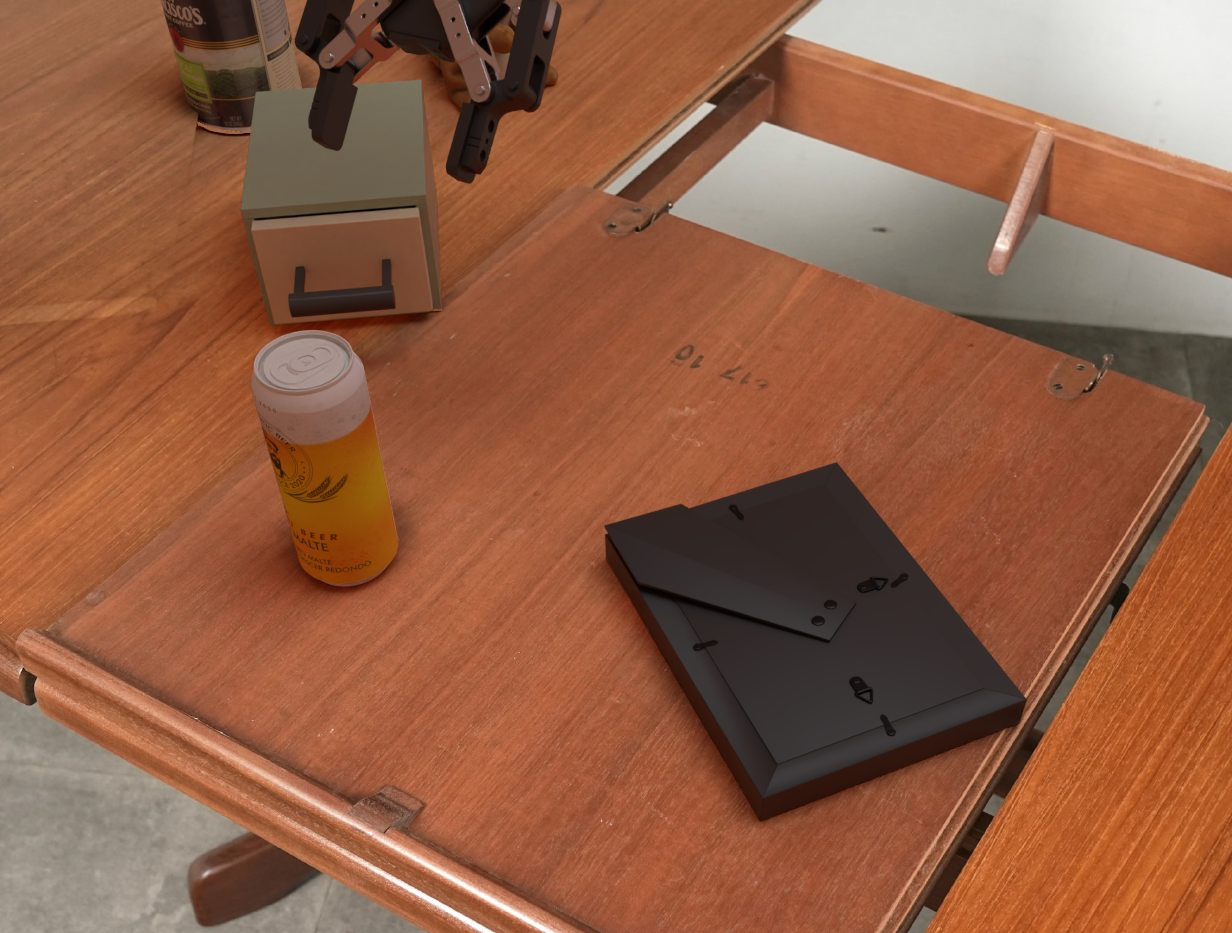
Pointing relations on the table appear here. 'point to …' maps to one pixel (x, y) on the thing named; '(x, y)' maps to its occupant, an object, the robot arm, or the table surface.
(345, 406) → the beer can
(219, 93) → the coffee can
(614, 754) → the table surface
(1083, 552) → the table surface
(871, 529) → the picture frame
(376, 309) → the drawer
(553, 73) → the stuffed squirrel
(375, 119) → the cabinet
